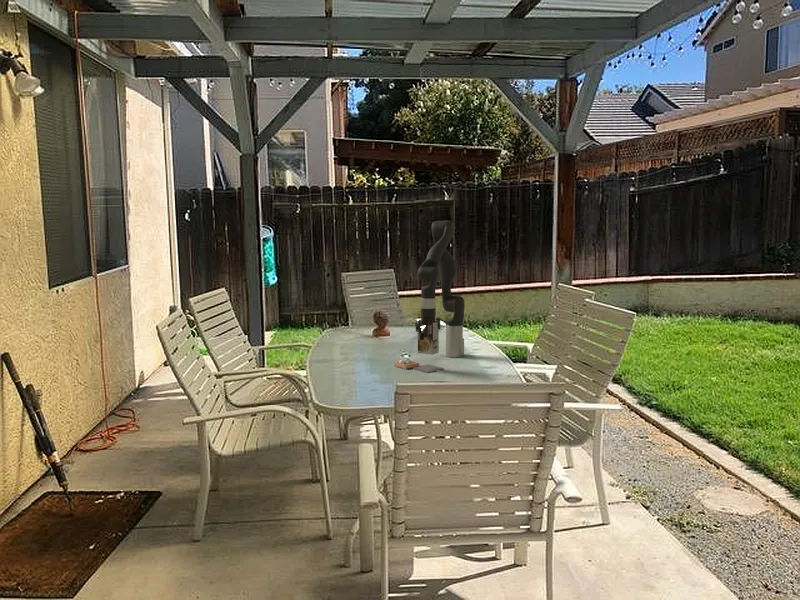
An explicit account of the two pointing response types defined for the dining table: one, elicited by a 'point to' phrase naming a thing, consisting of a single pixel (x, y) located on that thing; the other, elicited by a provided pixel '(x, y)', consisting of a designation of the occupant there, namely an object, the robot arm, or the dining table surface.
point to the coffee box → (429, 339)
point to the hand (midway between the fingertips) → (428, 339)
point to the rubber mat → (427, 368)
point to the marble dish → (414, 364)
